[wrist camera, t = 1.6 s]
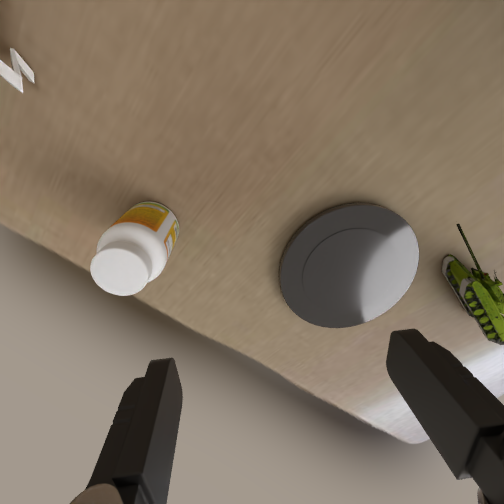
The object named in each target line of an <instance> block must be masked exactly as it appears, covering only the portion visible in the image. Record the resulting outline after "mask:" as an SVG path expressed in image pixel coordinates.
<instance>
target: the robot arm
mask: <svg viewBox="0 0 504 504" xmlns="http://www.w3.org/2000/svg"><path fill="white" fill-rule="evenodd" d="M386 366H387V371H388V374H389V376H390V378H391V380H392V381H393V383H394V384H395V386H396V387H397V389H398V391H399V392H400V394H401V395H402V397H403V398H404V400H405V401H406V403H407V404H408V406H409V407H410V409H411V410H412V412H413V413H414V415H415V416H416V418H417V419H418V421H419V422H420V424H421V425H422V427H423V429H424V430H425V432H426V433H427V435H428V436H429V438H430V439H431V441H432V442H433V444H434V445H435V447H436V448H437V450H438V451H439V453H440V454H441V456H442V457H443V459H444V460H445V462H446V463H447V465H448V467H449V468H450V470H451V471H452V473H453V474H454V476H455V477H456V479H457V480H460V479H466V478H473V479H474V480H475V482H476V483H477V485H478V486H479V489H478V504H504V405H503V404H502V403H501V402H500V401H499V400H498V399H497V398H496V397H495V396H494V395H493V394H492V393H491V392H490V391H489V390H488V389H487V388H486V387H485V386H484V385H483V384H482V383H481V382H480V381H479V380H478V379H477V378H476V377H475V378H474V377H473V374H472V373H471V372H470V371H469V370H468V369H467V368H466V367H463V365H462V363H461V362H460V361H459V360H458V359H457V358H456V357H455V356H454V355H453V354H452V353H451V352H450V351H448V350H446V349H445V348H443V347H442V346H440V345H438V344H437V343H435V342H428V340H427V339H426V338H425V337H424V336H423V335H422V334H421V333H420V332H419V331H418V330H416V329H407V330H399V331H393V332H392V333H391V336H390V342H389V348H388V354H387V360H386ZM181 409H182V387H181V383H180V379H179V375H178V371H177V368H176V364H175V360H174V359H173V358H166V359H159V360H151V361H150V363H149V366H148V368H147V372H146V375H145V377H141V378H136V379H134V381H133V382H132V383H131V385H130V386H129V387H128V388H127V389H126V391H125V392H124V394H123V397H122V399H121V402H120V404H119V407H118V411H117V412H116V415H115V417H114V420H113V425H111V428H110V430H109V433H108V435H107V438H106V440H105V443H104V446H103V448H102V451H101V453H100V456H99V459H98V461H97V463H96V466H95V469H94V471H93V474H92V477H91V479H90V481H89V483H88V485H87V487H86V489H85V490H84V491H83V492H82V493H80V494H79V495H78V496H77V497H76V498H75V499H74V500H73V501H72V502H71V503H70V504H166V503H167V496H168V490H169V484H170V478H171V471H172V465H173V459H174V453H175V446H176V440H177V433H178V428H179V421H180V414H181Z"/></svg>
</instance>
